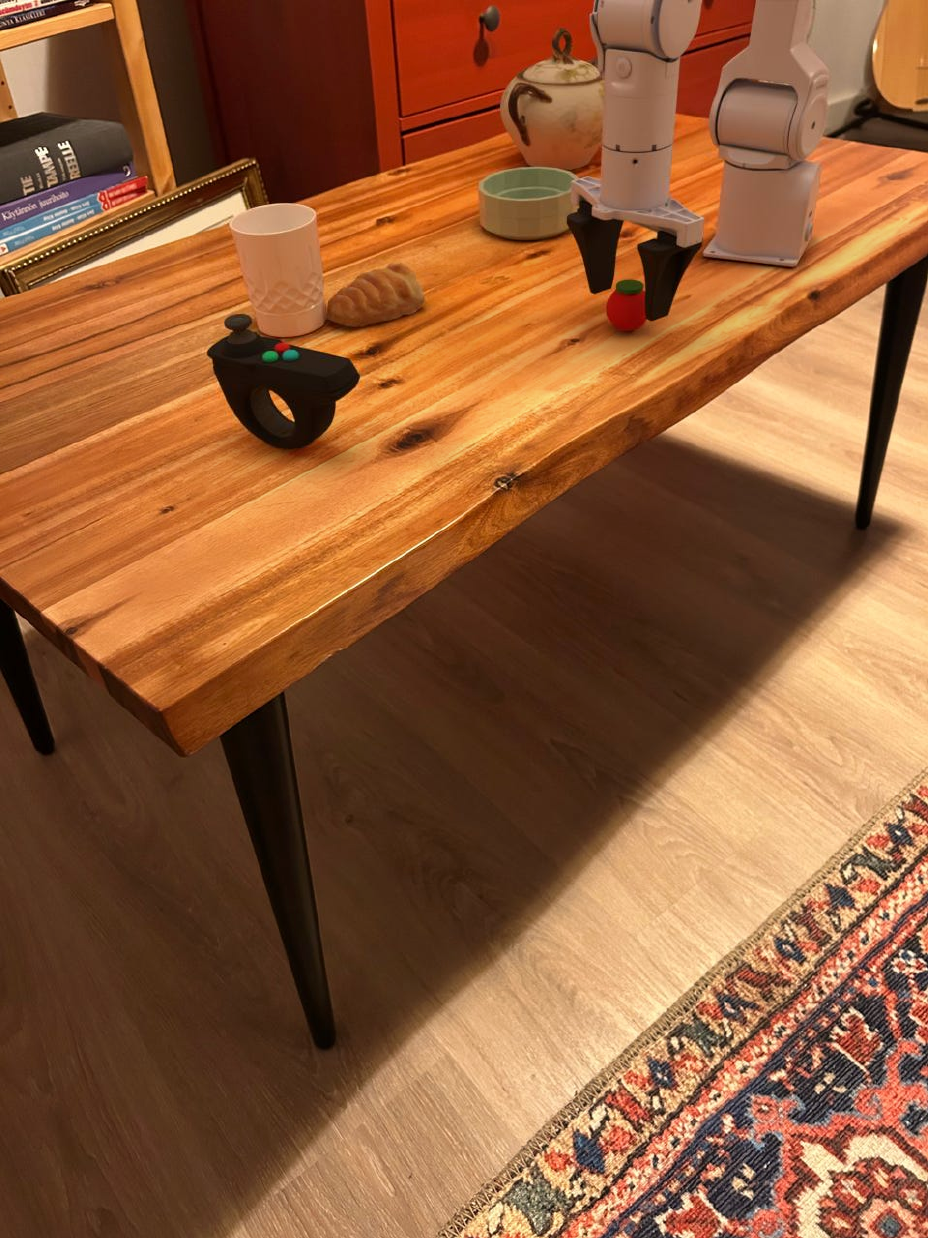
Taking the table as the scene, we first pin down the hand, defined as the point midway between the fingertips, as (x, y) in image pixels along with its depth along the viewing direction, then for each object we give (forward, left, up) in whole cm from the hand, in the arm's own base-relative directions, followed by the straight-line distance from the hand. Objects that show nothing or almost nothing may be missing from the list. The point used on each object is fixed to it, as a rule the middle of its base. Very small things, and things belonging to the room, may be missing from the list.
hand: (628, 303), depth 87 cm
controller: (+18, +28, -3) cm, 33 cm away
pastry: (+24, +4, -3) cm, 24 cm away
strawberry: (0, 0, -2) cm, 2 cm away
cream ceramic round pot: (+24, -44, -3) cm, 50 cm away
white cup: (+31, +9, -3) cm, 32 cm away
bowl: (+19, -22, -2) cm, 29 cm away
